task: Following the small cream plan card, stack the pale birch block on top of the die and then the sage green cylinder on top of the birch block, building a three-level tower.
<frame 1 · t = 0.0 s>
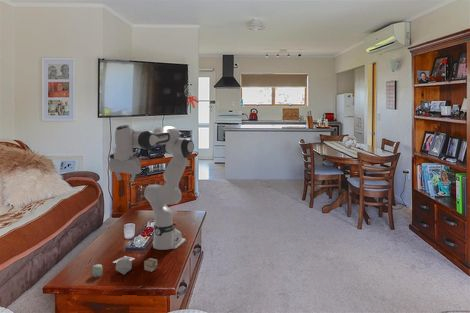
hand: (125, 180, 211), 48 cm above the table, tool pointing down, fingers open, 8 cm apart
birch block: (151, 269, 211), on the table
die: (124, 272, 207), on the table
sage cylinder: (97, 275, 204), on the table
plan card: (124, 260, 222), on the table
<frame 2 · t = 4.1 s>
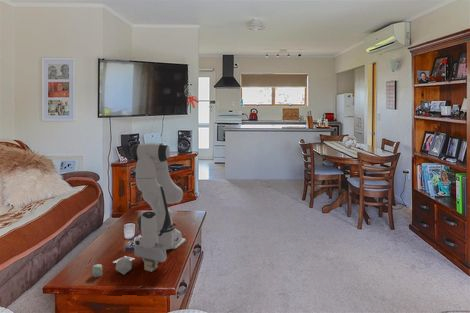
hand: (150, 266, 211), 2 cm above the table, tool pointing down, fingers closed on birch block, 5 cm apart
birch block: (151, 268, 211), on the table, touching gripper
everything else where it was.
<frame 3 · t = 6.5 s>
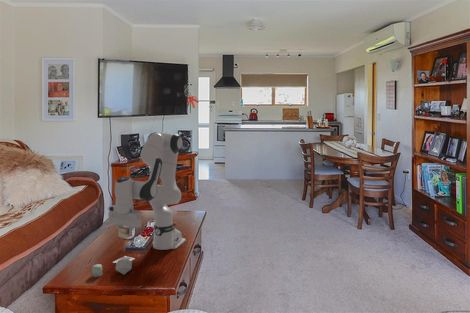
hand: (125, 233, 204), 22 cm above the table, tool pointing down, fingers closed on birch block, 5 cm apart
birch block: (125, 236, 204), point 20 cm above the table, touching gripper
everything else where it was.
when the fingers open (11 cm above the table, at t = 9.0 s): birch block drops 2 cm, resting on die.
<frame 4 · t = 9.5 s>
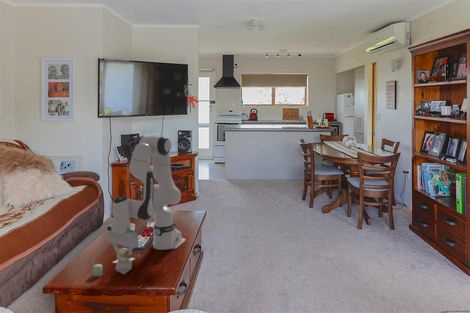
hand: (123, 252, 206), 11 cm above the table, tool pointing down, fingers open, 8 cm apart
birch block: (123, 259, 206), point 8 cm above the table, touching die
die: (124, 272, 207), on the table, touching birch block
everything else where it was.
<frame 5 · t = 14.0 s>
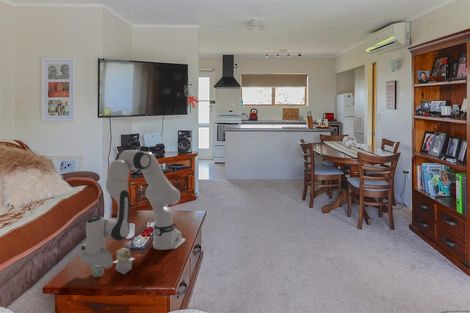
hand: (97, 272, 204), 2 cm above the table, tool pointing down, fingers closed on sage cylinder, 5 cm apart
sage cylinder: (97, 275, 204), on the table, touching gripper
everything else where it was.
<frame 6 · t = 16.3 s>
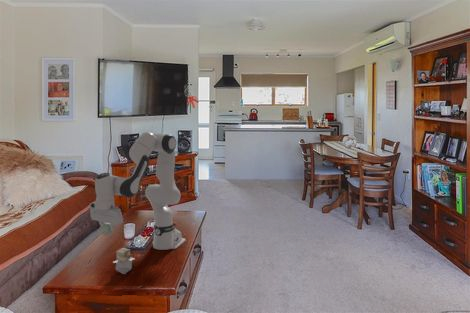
hand: (107, 229, 203), 24 cm above the table, tool pointing down, fingers closed on sage cylinder, 5 cm apart
sage cylinder: (107, 232, 203), point 23 cm above the table, touching gripper
everything else where it was.
when the fingers open (16 cm above the table, at t = 18.9 s): sage cylinder drops 2 cm, resting on birch block.
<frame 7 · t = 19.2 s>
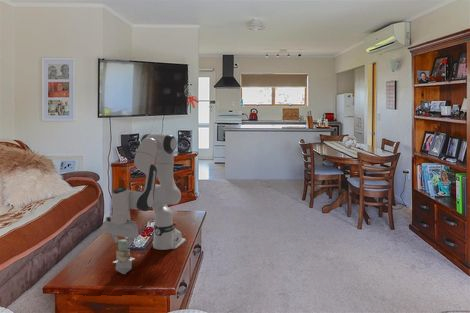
hand: (122, 243, 205), 16 cm above the table, tool pointing down, fingers open, 8 cm apart
birch block: (123, 259, 206), point 8 cm above the table, touching die, sage cylinder
sage cylinder: (122, 249, 206), point 13 cm above the table, touching birch block
everything else where it was.
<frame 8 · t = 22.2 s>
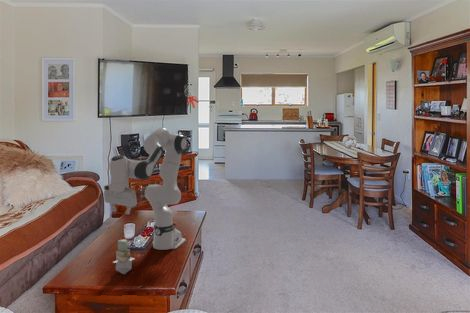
hand: (121, 212, 202), 33 cm above the table, tool pointing down, fingers open, 8 cm apart
nothing on the table moved.
at the end: birch block 0.4 cm off-centre on the die, point 7.9 cm above the die's base; sage cylinder 0.1 cm off-centre on the die, point 12.9 cm above the die's base; sage cylinder tilted 0° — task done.
